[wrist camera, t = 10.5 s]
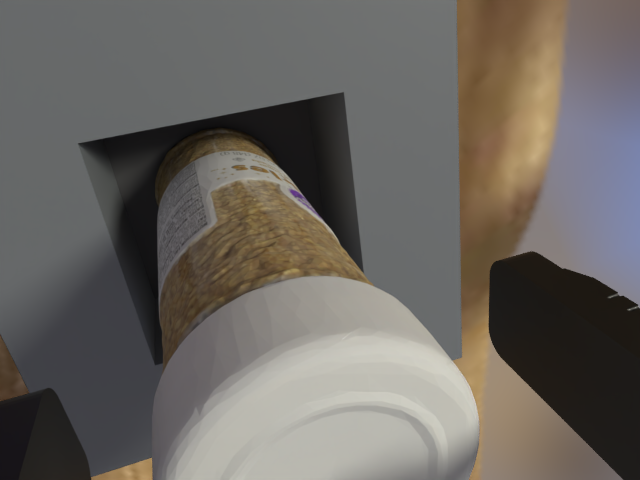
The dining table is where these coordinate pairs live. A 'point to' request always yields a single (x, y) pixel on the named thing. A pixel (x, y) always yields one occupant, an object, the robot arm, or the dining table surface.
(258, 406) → the sprinkles bottle
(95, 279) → the well block
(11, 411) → the robot arm
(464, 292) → the dining table surface
